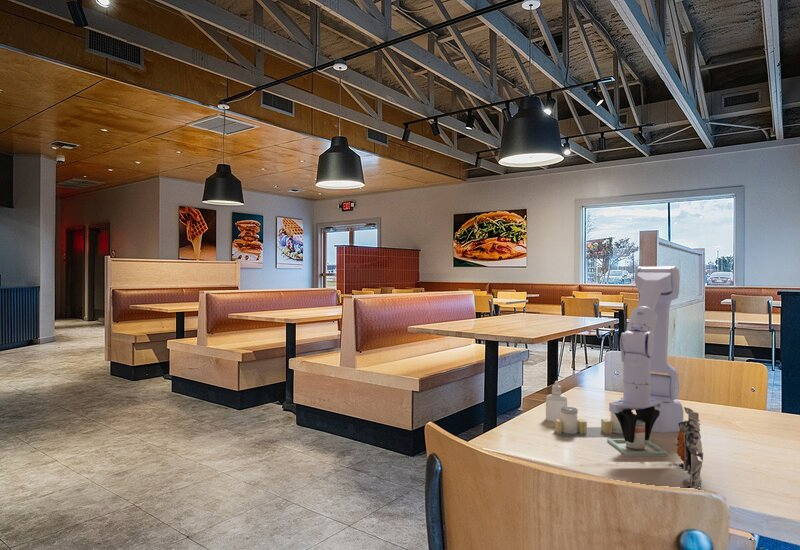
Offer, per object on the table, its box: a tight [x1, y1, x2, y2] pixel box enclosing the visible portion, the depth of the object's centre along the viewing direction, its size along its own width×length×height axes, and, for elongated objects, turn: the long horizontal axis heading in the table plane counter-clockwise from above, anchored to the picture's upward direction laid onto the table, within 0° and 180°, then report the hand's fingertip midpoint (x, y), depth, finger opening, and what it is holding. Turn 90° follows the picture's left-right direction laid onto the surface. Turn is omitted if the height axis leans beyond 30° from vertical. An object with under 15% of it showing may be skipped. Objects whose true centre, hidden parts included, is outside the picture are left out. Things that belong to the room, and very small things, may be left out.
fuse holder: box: [550, 418, 624, 438], centre depth 128 cm, size 20×8×4 cm, turn 91°
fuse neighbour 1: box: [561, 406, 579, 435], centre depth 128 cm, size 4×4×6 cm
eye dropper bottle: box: [545, 380, 568, 422], centre depth 139 cm, size 4×6×12 cm
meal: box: [675, 406, 704, 489], centre depth 101 cm, size 15×4×13 cm, turn 153°
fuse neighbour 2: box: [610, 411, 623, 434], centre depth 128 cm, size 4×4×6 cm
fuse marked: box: [625, 419, 646, 450], centre depth 116 cm, size 4×4×6 cm
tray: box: [606, 438, 669, 457], centre depth 116 cm, size 10×10×2 cm
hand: (636, 440), depth 116 cm, fingers closed on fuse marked, 4 cm apart
